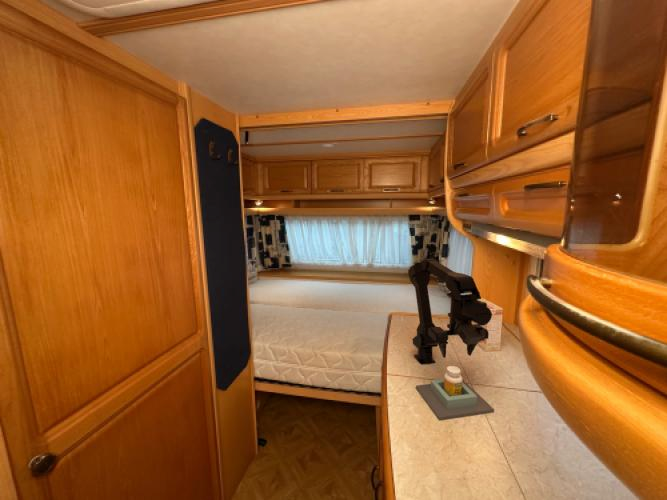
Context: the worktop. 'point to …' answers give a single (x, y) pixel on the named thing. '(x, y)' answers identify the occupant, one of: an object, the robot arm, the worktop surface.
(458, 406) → the socket
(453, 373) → the supplement bottle
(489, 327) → the coffeecake box
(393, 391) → the worktop surface
